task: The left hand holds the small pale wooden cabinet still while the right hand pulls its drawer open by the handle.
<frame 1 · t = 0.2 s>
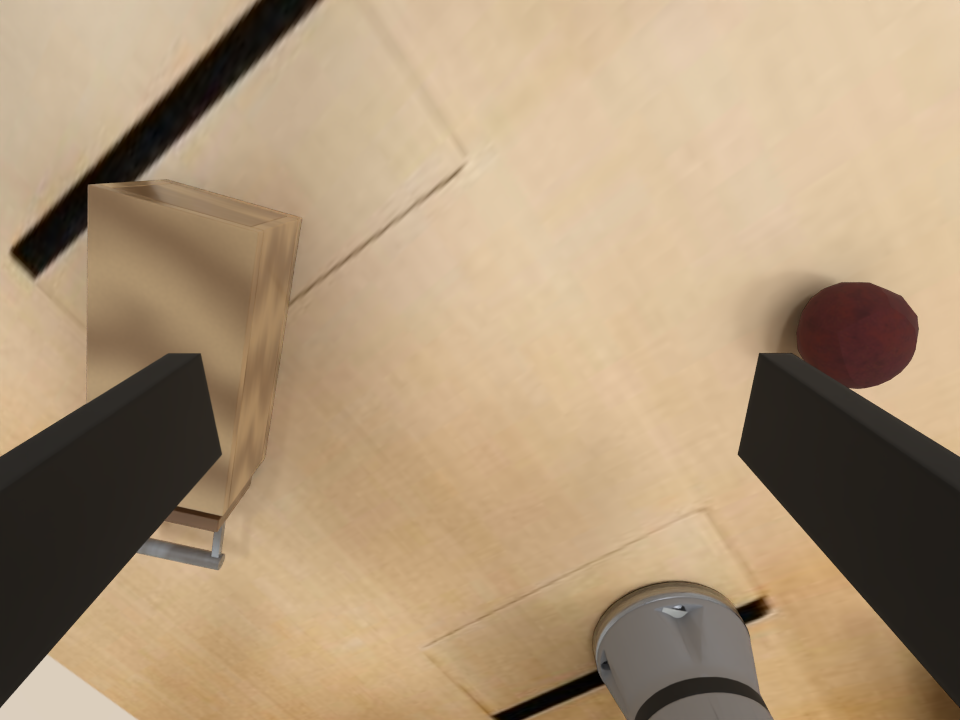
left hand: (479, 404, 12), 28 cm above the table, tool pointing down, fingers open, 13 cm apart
cabinet: (220, 333, 41), on the table
dark maroon ball: (822, 318, 41), on the table
drawer: (188, 421, 39), point 4 cm above the table, slide at 1.3 cm
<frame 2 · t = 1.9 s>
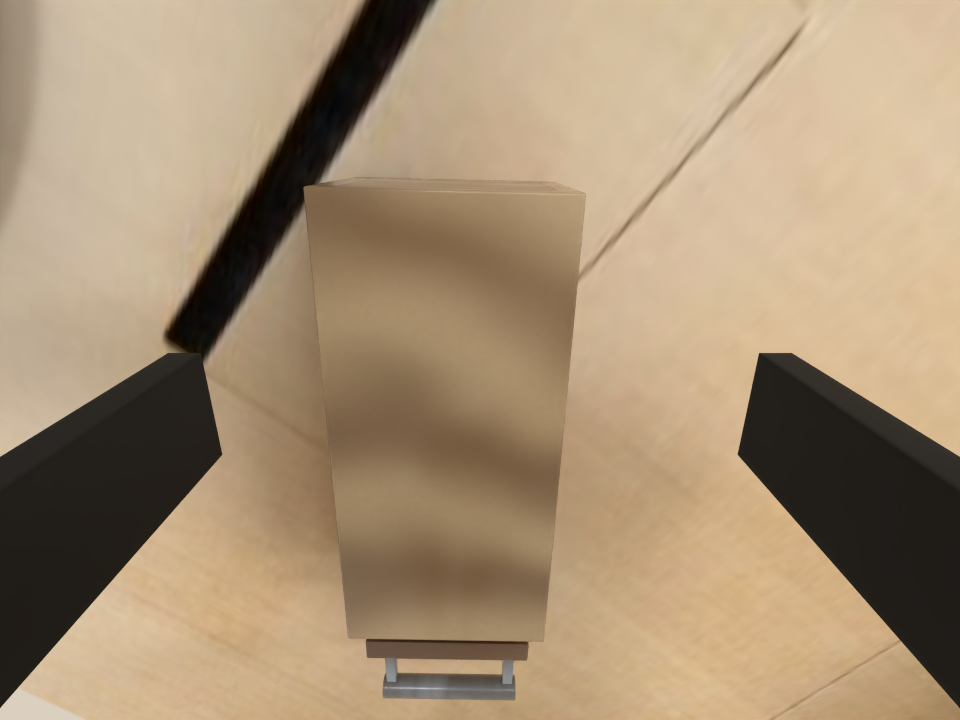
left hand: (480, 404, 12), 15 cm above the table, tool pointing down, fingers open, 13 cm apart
cabinet: (454, 379, 29), on the table
drawer: (450, 513, 27), point 4 cm above the table, slide at 1.3 cm
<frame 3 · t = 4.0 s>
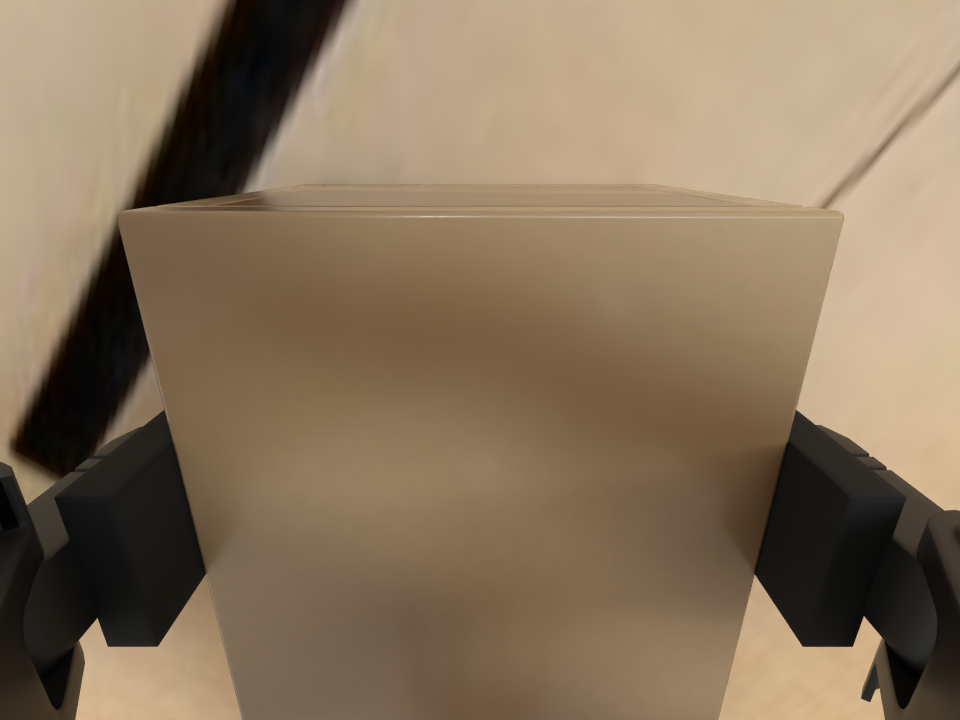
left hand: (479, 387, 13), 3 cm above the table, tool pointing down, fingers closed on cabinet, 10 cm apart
cabinet: (480, 503, 18), on the table, touching left hand
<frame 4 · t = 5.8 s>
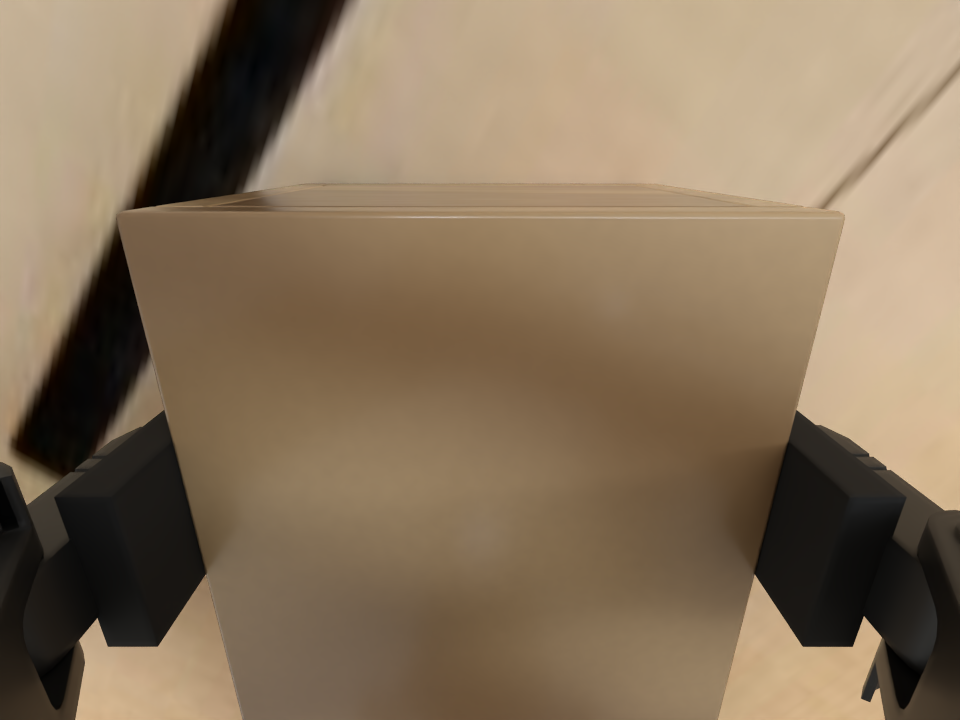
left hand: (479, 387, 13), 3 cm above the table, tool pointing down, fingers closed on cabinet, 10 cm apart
cabinet: (480, 503, 18), on the table, touching left hand
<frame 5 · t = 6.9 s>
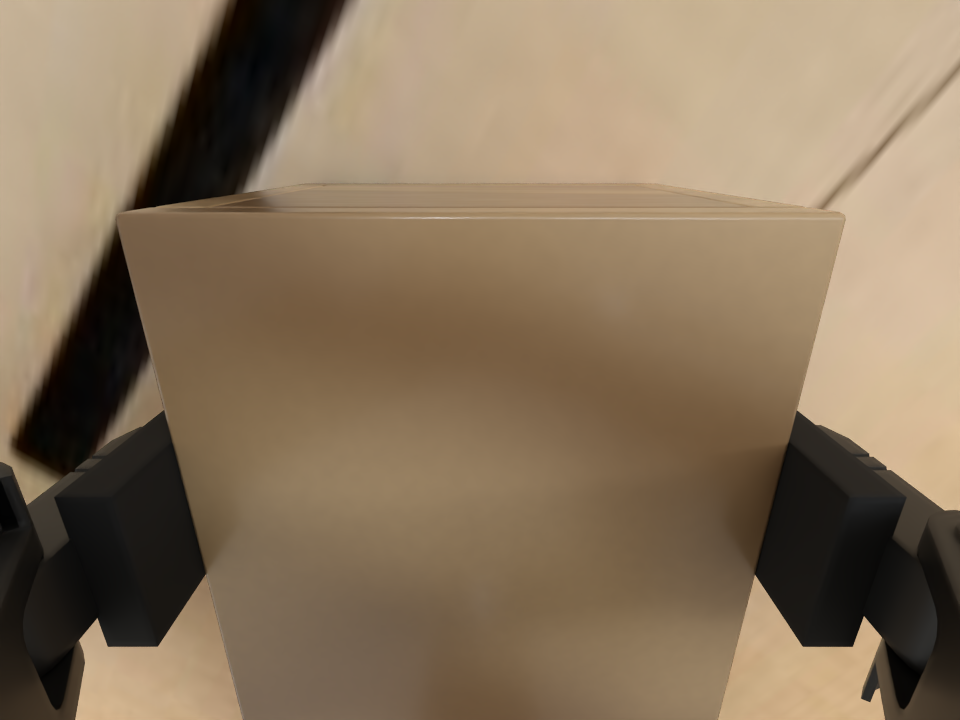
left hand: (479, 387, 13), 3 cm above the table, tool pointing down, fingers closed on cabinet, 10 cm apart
cabinet: (480, 503, 18), on the table, touching left hand
when the left hand's fingers open (3 cm above the table, at t = 8.7 s): cabinet stays where it is, on the table.
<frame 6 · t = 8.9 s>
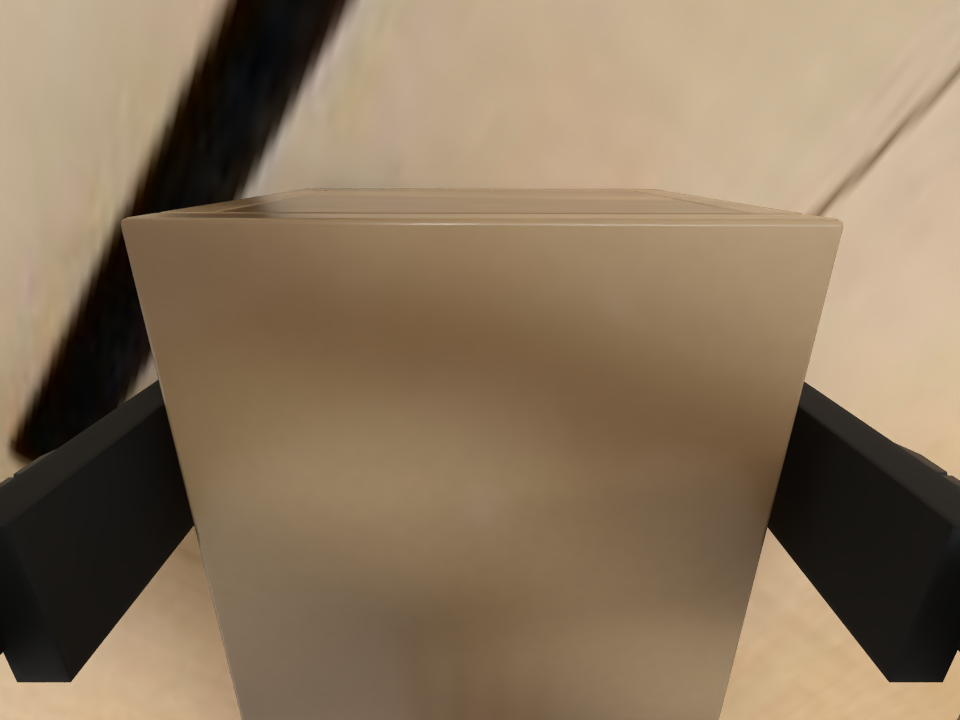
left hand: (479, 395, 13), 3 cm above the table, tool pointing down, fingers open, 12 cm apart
cabinet: (480, 506, 18), on the table
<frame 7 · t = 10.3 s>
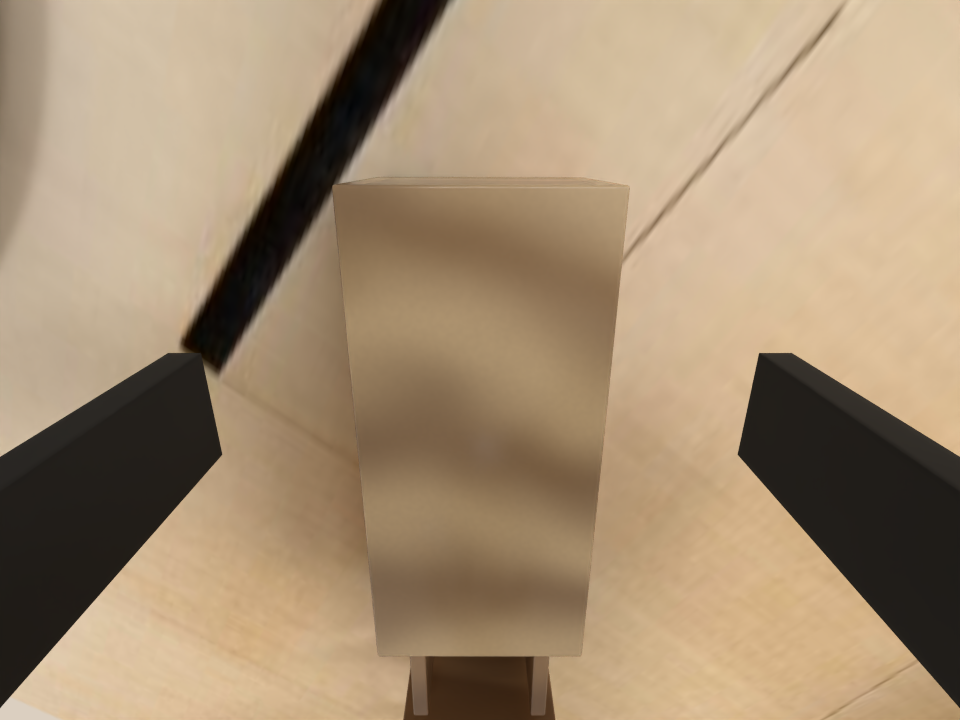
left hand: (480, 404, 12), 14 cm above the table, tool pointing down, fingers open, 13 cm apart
cabinet: (480, 384, 28), on the table
drawer: (479, 609, 29), point 4 cm above the table, slide at 7.2 cm
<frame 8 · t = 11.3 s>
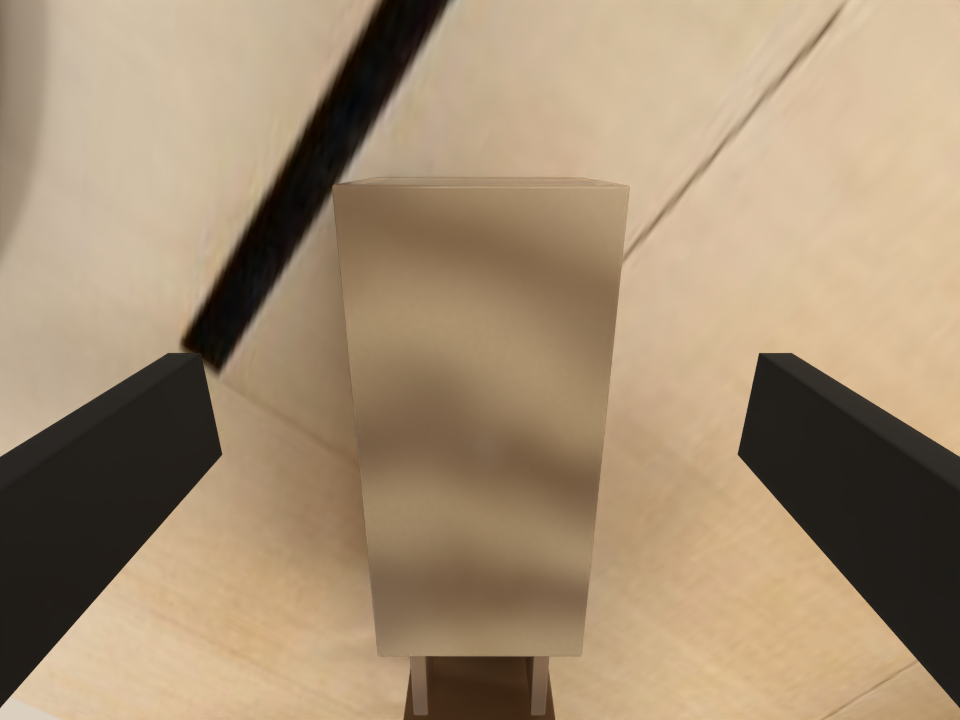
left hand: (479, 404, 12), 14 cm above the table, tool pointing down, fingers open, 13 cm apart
cabinet: (480, 384, 28), on the table
drawer: (479, 609, 29), point 4 cm above the table, slide at 7.2 cm
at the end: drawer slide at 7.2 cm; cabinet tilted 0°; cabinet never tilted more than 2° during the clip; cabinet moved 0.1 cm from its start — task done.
